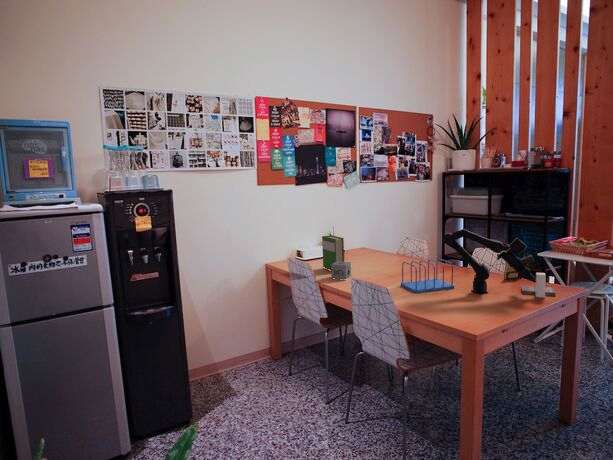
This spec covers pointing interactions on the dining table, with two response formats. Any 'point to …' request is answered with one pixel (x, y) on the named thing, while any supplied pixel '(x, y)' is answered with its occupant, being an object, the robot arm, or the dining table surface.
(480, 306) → the dining table surface
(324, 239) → the hardback book
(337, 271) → the icon cube
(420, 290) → the file sorter
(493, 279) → the dining table surface
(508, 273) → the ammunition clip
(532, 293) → the plank
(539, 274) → the white box
